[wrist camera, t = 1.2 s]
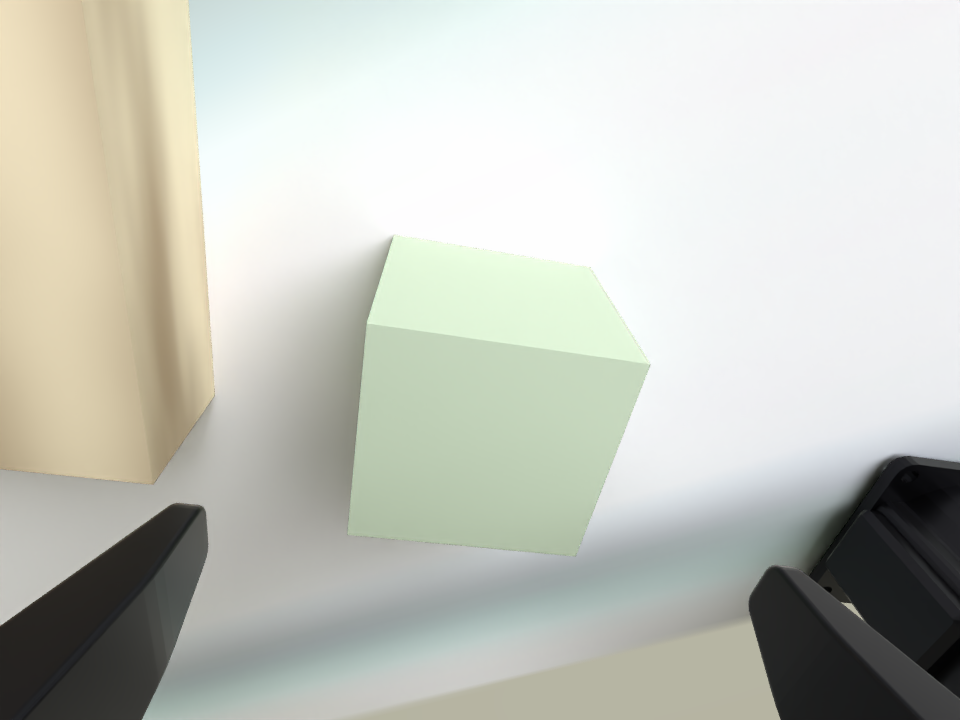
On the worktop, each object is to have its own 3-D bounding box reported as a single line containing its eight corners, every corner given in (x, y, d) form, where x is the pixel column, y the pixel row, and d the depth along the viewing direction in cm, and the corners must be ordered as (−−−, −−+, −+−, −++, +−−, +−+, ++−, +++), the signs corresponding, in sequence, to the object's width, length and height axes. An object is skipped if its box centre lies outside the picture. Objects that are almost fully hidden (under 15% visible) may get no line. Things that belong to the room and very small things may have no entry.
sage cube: (589, 266, 14) (651, 364, 10) (543, 422, 16) (575, 556, 12) (394, 233, 13) (366, 323, 9) (376, 401, 16) (347, 534, 11)
